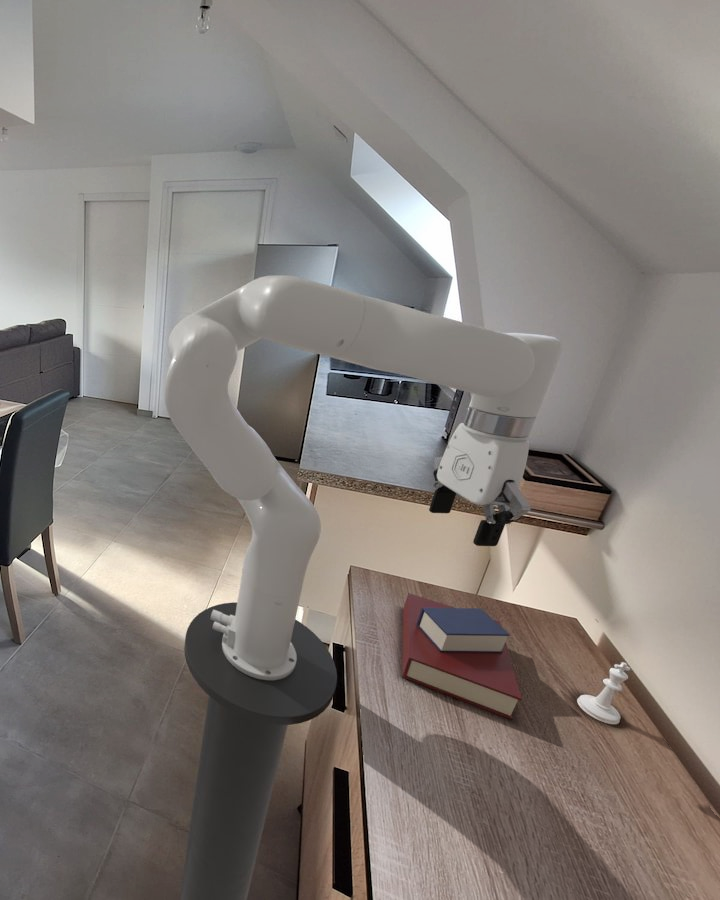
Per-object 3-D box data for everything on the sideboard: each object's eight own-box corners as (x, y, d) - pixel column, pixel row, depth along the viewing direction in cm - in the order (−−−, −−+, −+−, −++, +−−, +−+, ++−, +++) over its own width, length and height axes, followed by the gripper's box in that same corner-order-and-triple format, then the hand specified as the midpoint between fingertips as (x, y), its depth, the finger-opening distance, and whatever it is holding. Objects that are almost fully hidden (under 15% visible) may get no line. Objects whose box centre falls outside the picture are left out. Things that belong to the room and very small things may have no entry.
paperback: (440, 652, 78) (447, 633, 76) (416, 624, 84) (422, 607, 82) (502, 652, 78) (510, 634, 77) (473, 625, 84) (480, 608, 83)
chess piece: (627, 728, 70) (657, 680, 67) (588, 719, 71) (615, 671, 68) (606, 702, 75) (633, 655, 71) (570, 693, 76) (594, 647, 72)
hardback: (512, 720, 71) (522, 699, 69) (402, 677, 78) (409, 657, 76) (492, 640, 87) (499, 621, 85) (402, 610, 94) (408, 592, 92)
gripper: (431, 405, 72) (403, 501, 78) (523, 443, 56) (479, 559, 62) (476, 407, 72) (445, 502, 79) (582, 444, 56) (532, 560, 62)
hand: (460, 527), depth 70 cm, fingers open, 9 cm apart
